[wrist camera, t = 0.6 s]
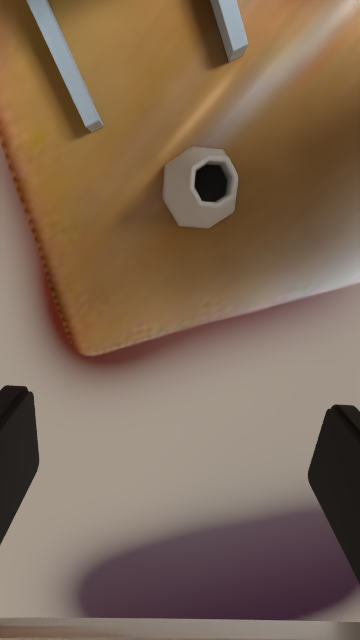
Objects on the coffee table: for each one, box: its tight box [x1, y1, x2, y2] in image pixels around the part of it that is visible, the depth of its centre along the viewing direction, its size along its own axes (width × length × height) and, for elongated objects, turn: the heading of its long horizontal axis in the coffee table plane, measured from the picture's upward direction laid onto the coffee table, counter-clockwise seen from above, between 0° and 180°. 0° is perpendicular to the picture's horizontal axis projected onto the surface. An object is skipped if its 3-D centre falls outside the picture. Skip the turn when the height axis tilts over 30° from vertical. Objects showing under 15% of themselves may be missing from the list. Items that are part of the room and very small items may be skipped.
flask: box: [163, 146, 239, 229], centre depth 24 cm, size 7×7×10 cm
